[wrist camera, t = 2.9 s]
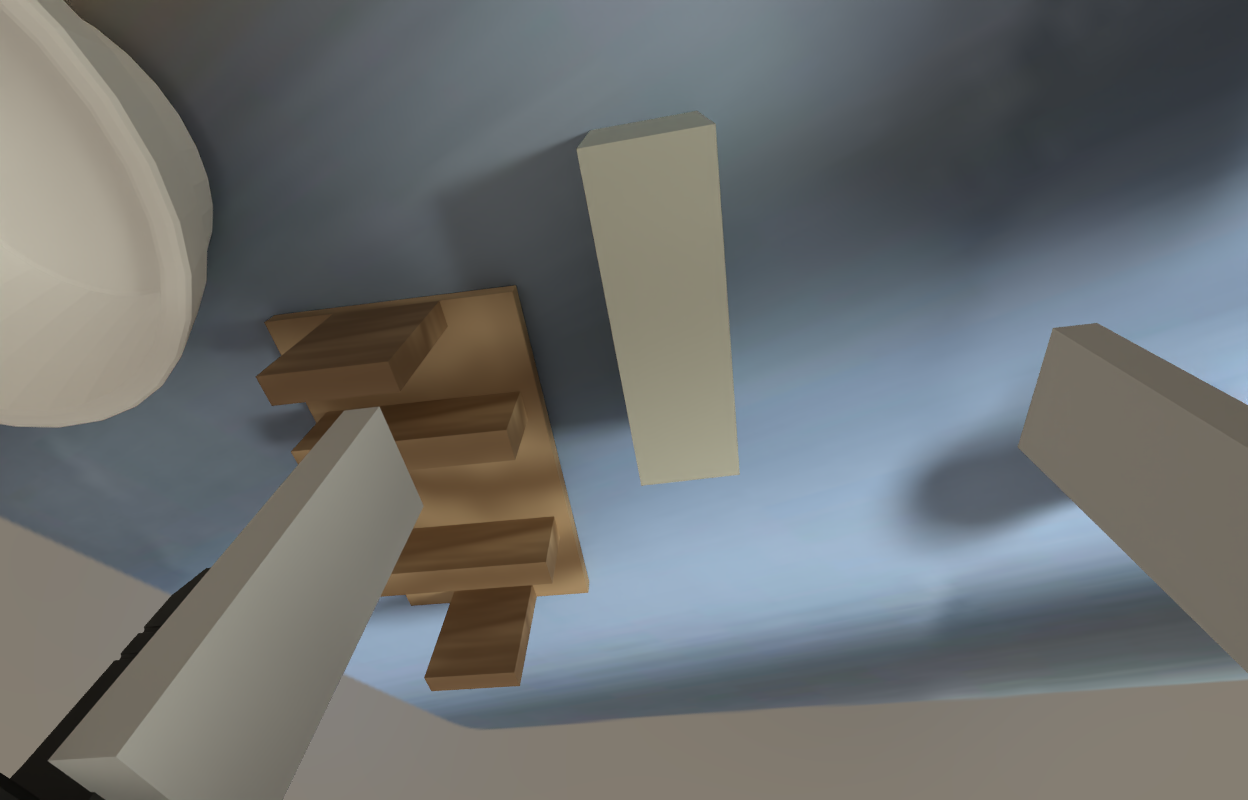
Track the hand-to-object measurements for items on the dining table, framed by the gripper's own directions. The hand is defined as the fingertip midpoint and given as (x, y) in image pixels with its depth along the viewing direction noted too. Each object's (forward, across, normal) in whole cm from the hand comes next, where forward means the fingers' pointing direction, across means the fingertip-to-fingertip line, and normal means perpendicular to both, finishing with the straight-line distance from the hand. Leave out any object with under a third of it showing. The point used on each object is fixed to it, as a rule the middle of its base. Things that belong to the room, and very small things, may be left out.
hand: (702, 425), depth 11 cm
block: (+19, 0, -4) cm, 19 cm away
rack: (+19, -15, -15) cm, 28 cm away
